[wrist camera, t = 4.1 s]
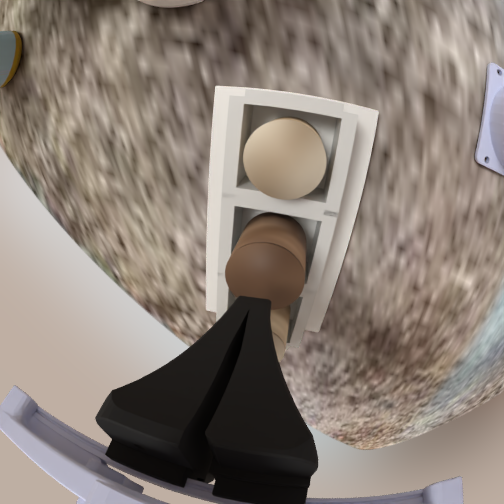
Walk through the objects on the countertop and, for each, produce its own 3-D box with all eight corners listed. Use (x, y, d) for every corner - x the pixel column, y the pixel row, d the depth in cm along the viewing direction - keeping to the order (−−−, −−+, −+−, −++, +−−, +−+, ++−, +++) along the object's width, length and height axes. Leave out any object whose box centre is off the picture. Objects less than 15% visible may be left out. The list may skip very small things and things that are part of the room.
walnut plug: (312, 218, 16) (312, 252, 13) (299, 274, 18) (295, 316, 15) (245, 206, 16) (227, 236, 13) (239, 262, 19) (223, 301, 15)
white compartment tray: (376, 110, 14) (391, 112, 12) (318, 326, 24) (317, 356, 21) (219, 86, 16) (199, 83, 13) (208, 304, 25) (195, 331, 22)
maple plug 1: (327, 122, 15) (333, 127, 12) (316, 184, 17) (318, 206, 14) (260, 112, 15) (247, 114, 12) (254, 173, 17) (239, 192, 14)
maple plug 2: (295, 292, 19) (290, 334, 15) (285, 331, 21) (278, 373, 18) (238, 281, 19) (222, 320, 16) (234, 321, 21) (220, 360, 18)
